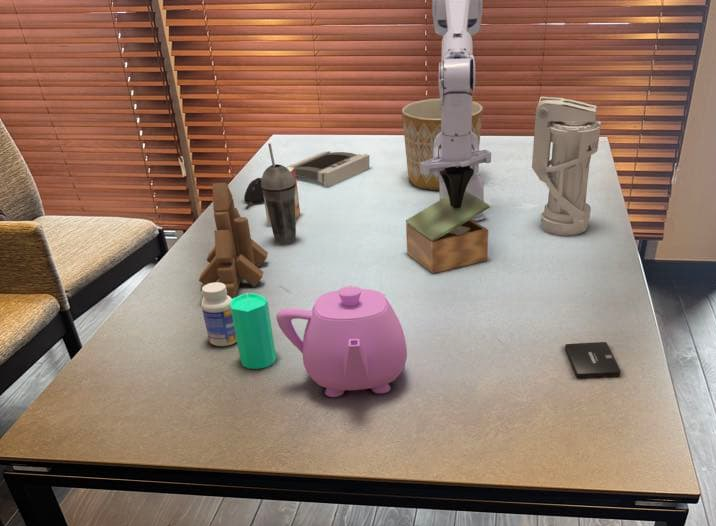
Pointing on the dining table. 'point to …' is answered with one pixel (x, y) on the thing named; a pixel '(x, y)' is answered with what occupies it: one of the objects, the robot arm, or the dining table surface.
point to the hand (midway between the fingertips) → (455, 206)
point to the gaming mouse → (254, 193)
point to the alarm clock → (331, 166)
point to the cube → (457, 231)
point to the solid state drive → (592, 359)
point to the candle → (253, 330)
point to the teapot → (349, 340)
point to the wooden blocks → (232, 246)
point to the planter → (427, 137)
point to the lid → (446, 216)
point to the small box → (297, 208)
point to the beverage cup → (280, 201)
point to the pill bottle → (218, 314)
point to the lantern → (565, 161)
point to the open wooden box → (448, 248)
